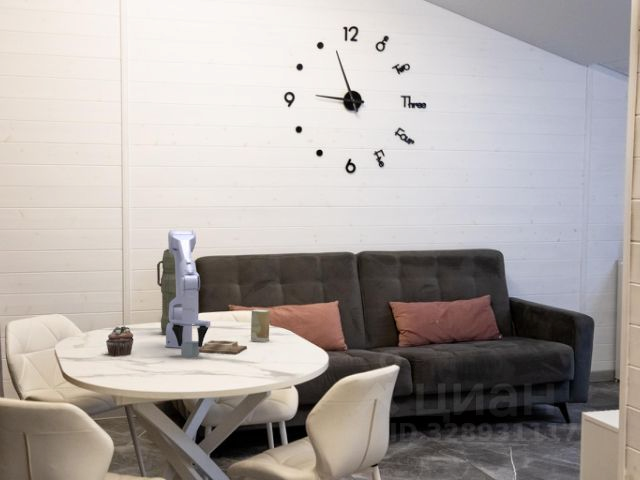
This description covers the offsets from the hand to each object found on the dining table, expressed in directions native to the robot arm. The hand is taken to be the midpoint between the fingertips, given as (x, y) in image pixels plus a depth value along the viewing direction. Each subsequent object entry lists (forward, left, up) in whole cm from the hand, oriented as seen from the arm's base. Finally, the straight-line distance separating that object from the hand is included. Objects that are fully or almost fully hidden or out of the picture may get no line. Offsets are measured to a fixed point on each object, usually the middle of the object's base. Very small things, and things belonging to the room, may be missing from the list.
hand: (190, 346), depth 304 cm
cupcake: (-26, -3, -4) cm, 27 cm away
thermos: (-25, +42, -4) cm, 49 cm away
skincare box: (+15, +36, -4) cm, 39 cm away
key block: (0, 0, -4) cm, 4 cm away
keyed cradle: (+7, +13, -4) cm, 15 cm away
